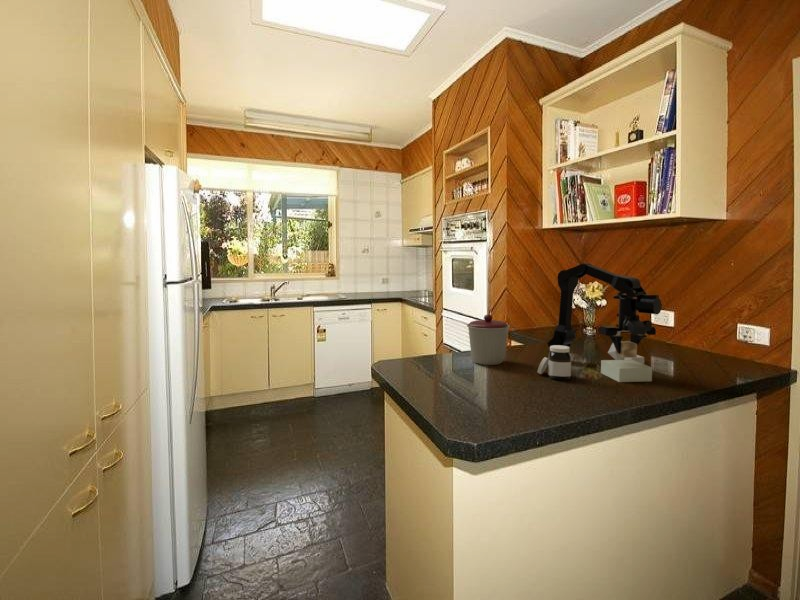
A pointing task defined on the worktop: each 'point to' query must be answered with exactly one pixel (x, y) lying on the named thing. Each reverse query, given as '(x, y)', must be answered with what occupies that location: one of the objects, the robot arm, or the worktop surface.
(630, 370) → the sage base block
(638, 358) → the grey cube
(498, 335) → the canister
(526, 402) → the worktop surface
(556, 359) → the spread jar
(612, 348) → the die
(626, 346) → the oak cube
